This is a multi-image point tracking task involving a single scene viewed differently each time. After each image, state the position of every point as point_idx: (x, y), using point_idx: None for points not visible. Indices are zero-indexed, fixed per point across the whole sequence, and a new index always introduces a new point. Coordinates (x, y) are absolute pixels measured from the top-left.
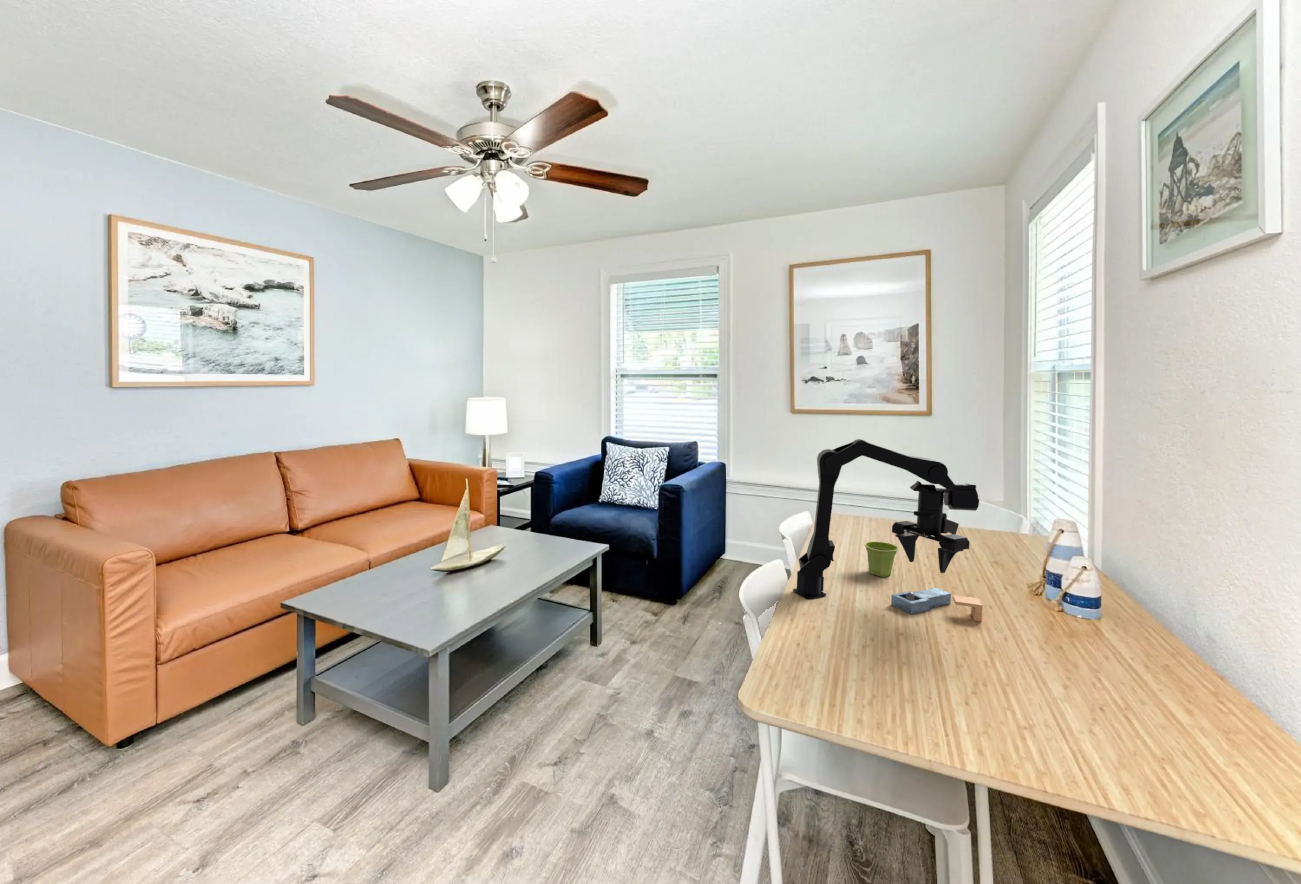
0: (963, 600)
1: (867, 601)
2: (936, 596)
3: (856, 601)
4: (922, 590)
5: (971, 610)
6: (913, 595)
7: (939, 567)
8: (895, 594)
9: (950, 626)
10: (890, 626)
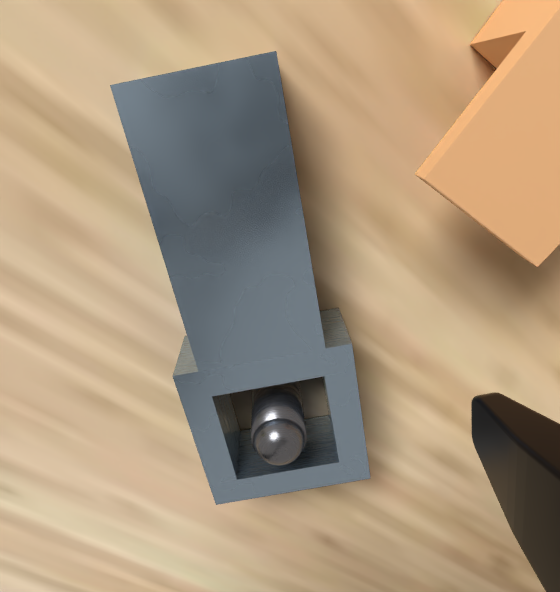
0: (553, 181)
1: (159, 527)
2: (308, 247)
3: (154, 566)
4: (169, 268)
5: (494, 50)
6: (301, 438)
7: (523, 542)
8: (218, 484)
9: (547, 337)
10: (433, 567)
